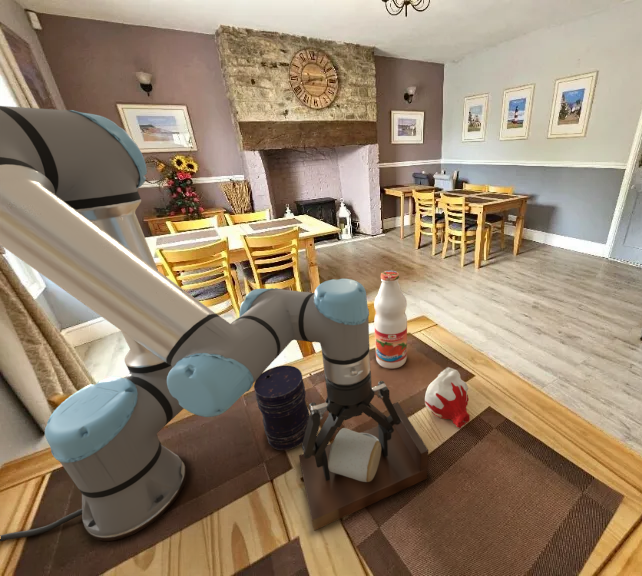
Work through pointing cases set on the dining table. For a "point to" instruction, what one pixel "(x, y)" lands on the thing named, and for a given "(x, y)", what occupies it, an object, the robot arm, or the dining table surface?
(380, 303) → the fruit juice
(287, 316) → the robot arm
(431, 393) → the white red rounded piece
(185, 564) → the dining table surface
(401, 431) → the dark wooden tray
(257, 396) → the storage jar
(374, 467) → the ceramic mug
